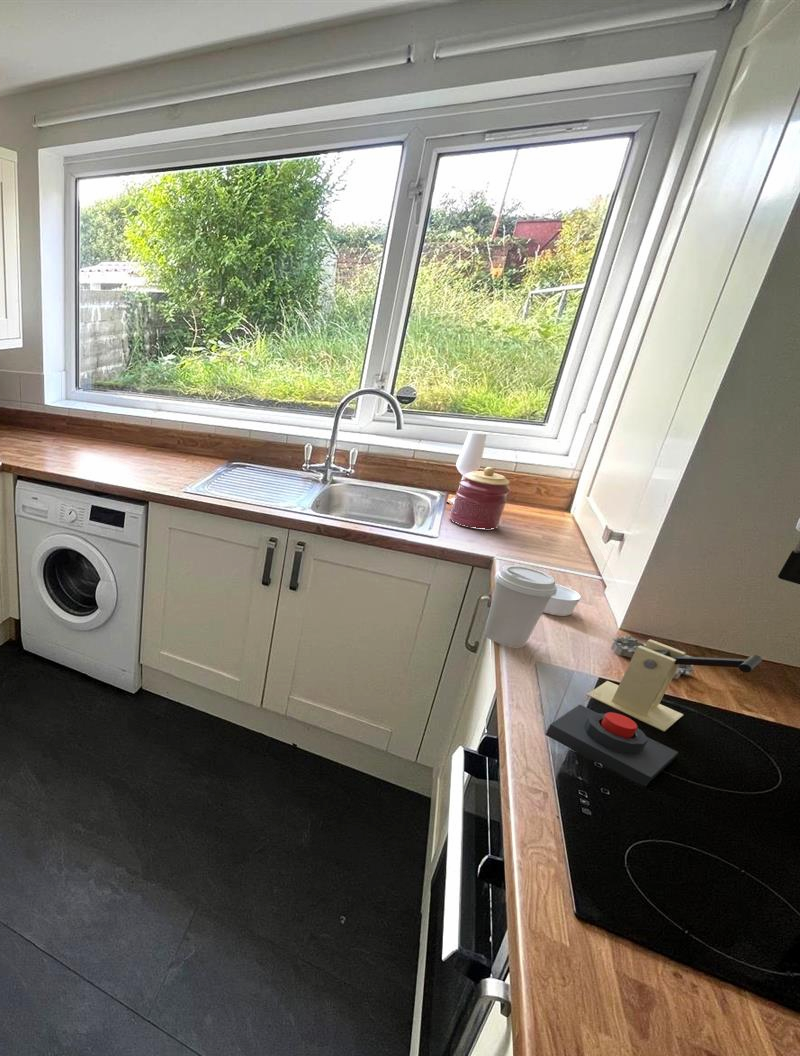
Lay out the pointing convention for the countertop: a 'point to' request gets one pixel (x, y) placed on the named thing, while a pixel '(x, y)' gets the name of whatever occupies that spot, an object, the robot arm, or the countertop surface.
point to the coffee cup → (517, 604)
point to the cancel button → (619, 725)
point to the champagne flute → (471, 453)
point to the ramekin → (562, 601)
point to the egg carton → (630, 645)
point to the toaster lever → (716, 661)
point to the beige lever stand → (644, 686)
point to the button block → (611, 745)
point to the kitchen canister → (480, 499)
